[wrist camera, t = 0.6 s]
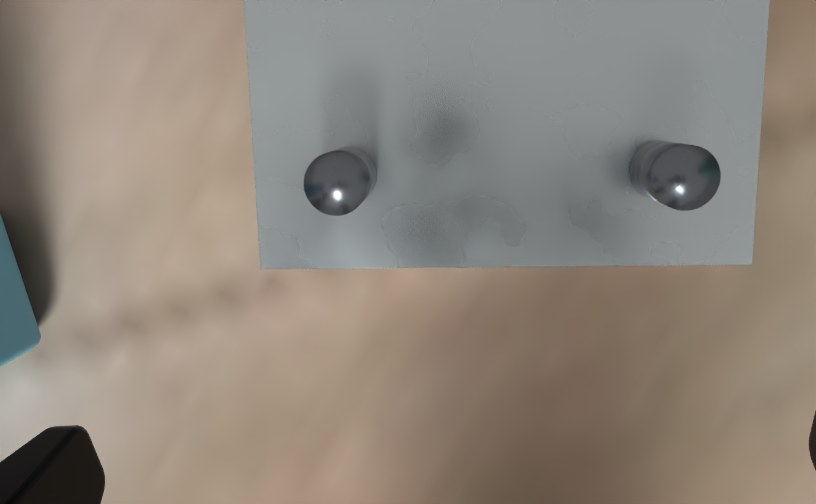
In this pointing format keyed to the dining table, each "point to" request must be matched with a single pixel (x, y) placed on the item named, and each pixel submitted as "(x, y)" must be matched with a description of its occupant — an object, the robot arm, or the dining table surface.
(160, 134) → the dining table surface
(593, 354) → the dining table surface
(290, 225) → the plate
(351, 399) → the dining table surface
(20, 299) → the blue printed box
